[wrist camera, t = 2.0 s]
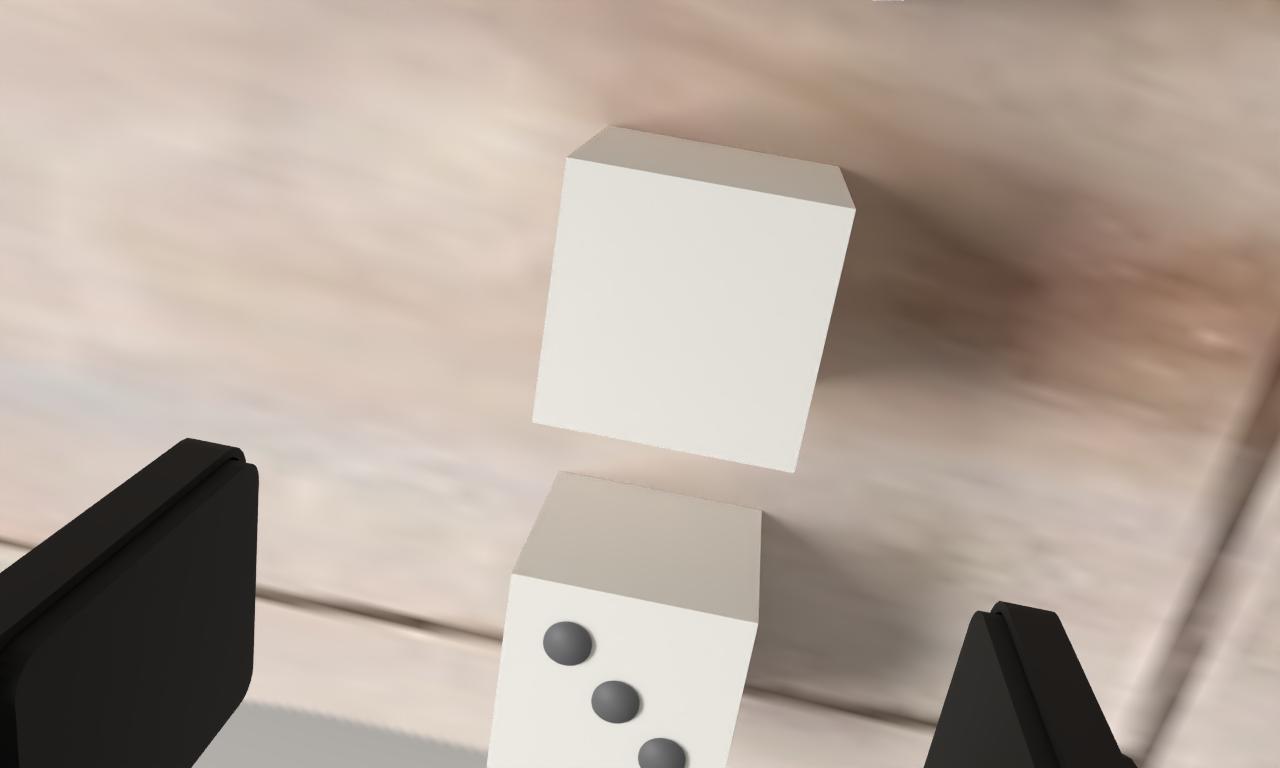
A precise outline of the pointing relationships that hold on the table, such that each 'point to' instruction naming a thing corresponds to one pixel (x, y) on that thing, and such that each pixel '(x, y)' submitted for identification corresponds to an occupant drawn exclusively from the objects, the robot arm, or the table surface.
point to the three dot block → (627, 630)
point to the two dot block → (887, 0)
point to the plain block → (691, 295)
